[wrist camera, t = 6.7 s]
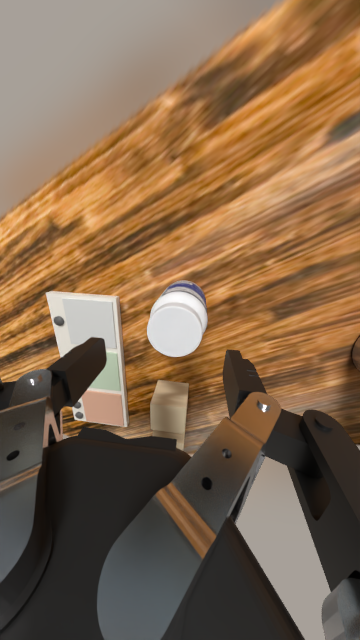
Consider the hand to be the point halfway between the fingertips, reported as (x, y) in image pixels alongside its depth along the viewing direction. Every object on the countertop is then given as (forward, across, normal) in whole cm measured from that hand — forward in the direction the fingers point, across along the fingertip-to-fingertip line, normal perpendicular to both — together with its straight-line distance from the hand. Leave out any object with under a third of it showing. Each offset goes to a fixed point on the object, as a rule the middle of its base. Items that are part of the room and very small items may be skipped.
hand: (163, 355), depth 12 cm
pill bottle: (+14, 0, 0) cm, 14 cm away
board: (+14, +14, +12) cm, 23 cm away
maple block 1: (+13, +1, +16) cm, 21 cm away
